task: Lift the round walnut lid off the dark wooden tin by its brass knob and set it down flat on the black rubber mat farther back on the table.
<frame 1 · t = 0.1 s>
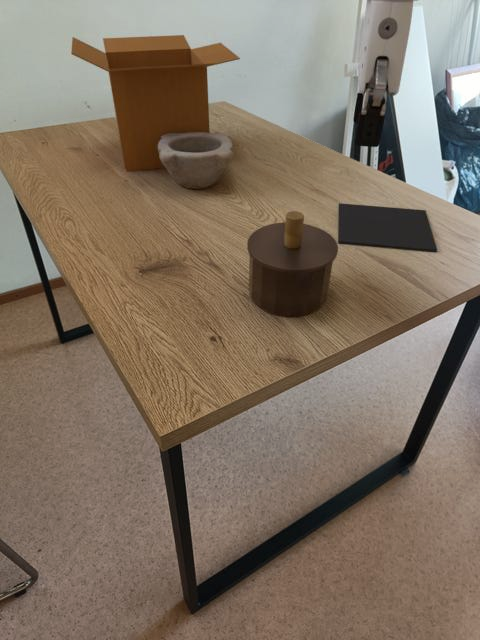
hand: (365, 133, 64), 23 cm above the table, tool pointing down, fingers open, 9 cm apart
tin: (287, 292, 74), on the table
tin lid: (292, 247, 68), point 8 cm above the table, touching tin
box: (165, 153, 121), on the table
mat: (383, 227, 90), on the table
mortar: (198, 181, 107), on the table
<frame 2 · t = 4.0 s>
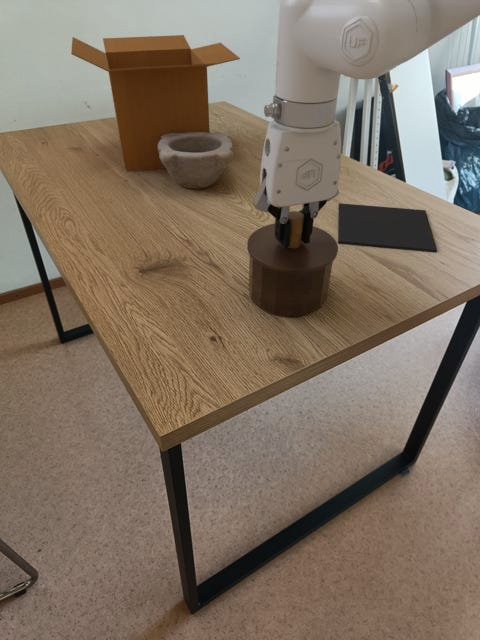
hand: (292, 240, 68), 10 cm above the table, tool pointing down, fingers closed on tin lid, 2 cm apart
tin lid: (292, 247, 68), point 9 cm above the table, touching gripper, tin
everything else where it was.
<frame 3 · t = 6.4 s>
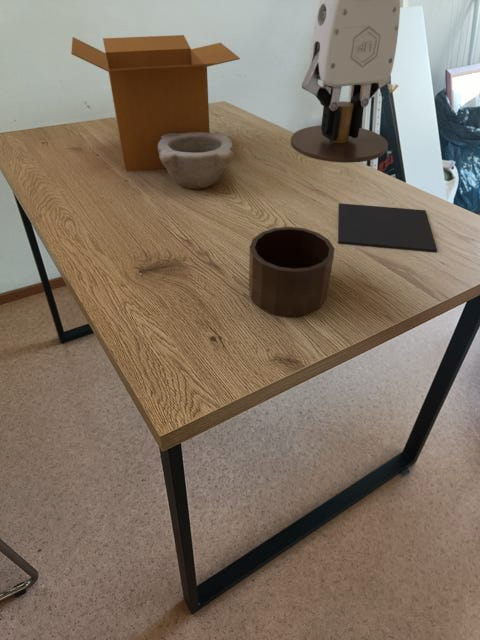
hand: (339, 135, 64), 23 cm above the table, tool pointing down, fingers closed on tin lid, 2 cm apart
tin lid: (338, 144, 64), point 22 cm above the table, touching gripper
everything else where it was.
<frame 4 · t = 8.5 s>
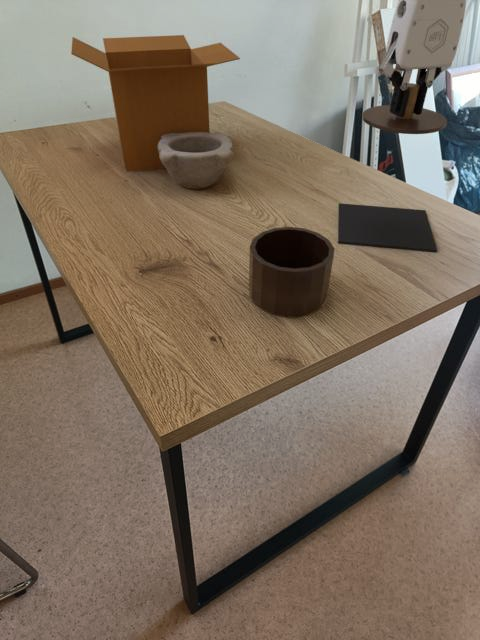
hand: (405, 112, 75), 22 cm above the table, tool pointing down, fingers closed on tin lid, 2 cm apart
tin lid: (403, 120, 76), point 21 cm above the table, touching gripper
everything else where it was.
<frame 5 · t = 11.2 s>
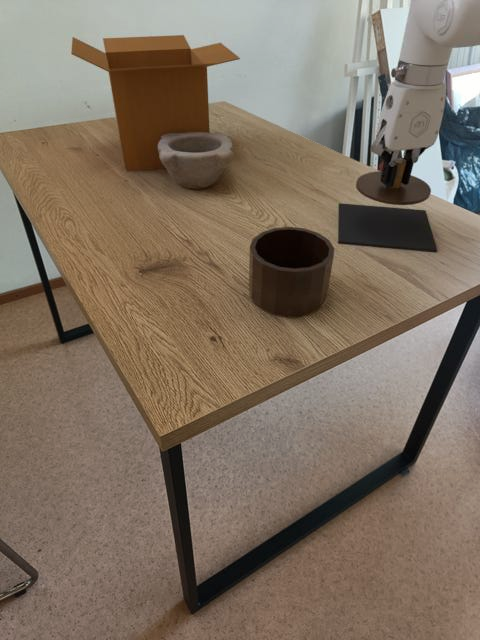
hand: (394, 182, 84), 9 cm above the table, tool pointing down, fingers closed on tin lid, 2 cm apart
tin lid: (392, 188, 85), point 8 cm above the table, touching gripper
everything else where it was.
when the fingers open (2 cm above the table, at t = 13.0 s): tin lid stays where it is, resting on mat.
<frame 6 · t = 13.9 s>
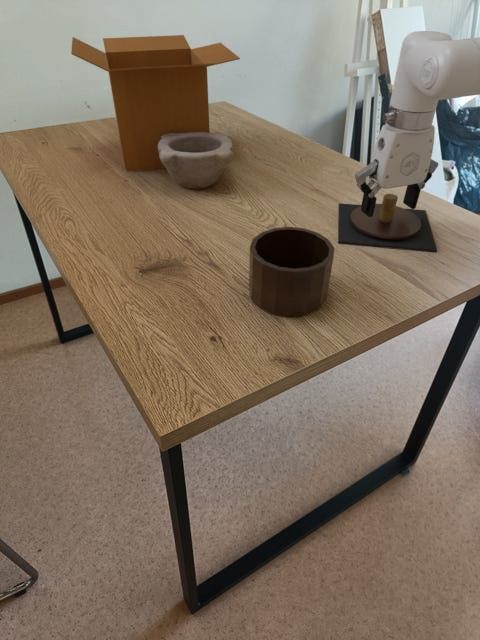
hand: (388, 209, 88), 4 cm above the table, tool pointing down, fingers open, 9 cm apart
tin lid: (384, 221, 90), point 1 cm above the table, touching mat
everything else where it was.
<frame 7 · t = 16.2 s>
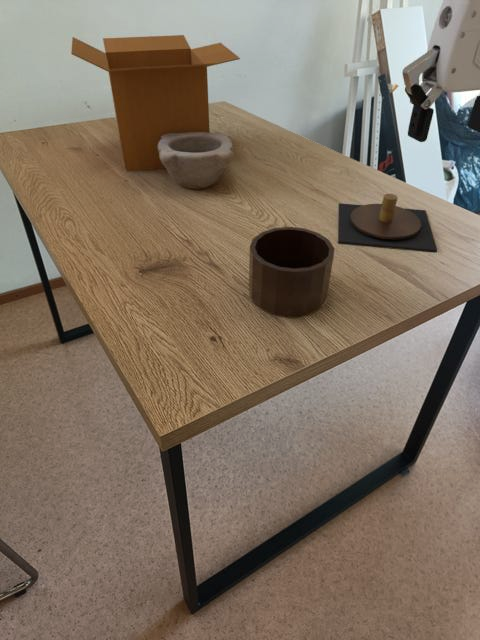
hand: (447, 134, 60), 24 cm above the table, tool pointing down, fingers open, 9 cm apart
nothing on the table moved.
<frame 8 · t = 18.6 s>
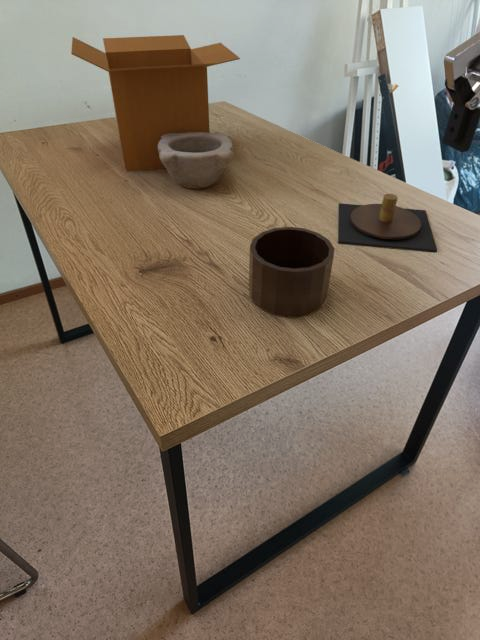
nothing on the table moved.
at the end: tin lid inside the target area on the mat (0.0 cm from its centre), point 1.1 cm above the mat's base; tin lid tilted 0°; the gripper is holding nothing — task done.
